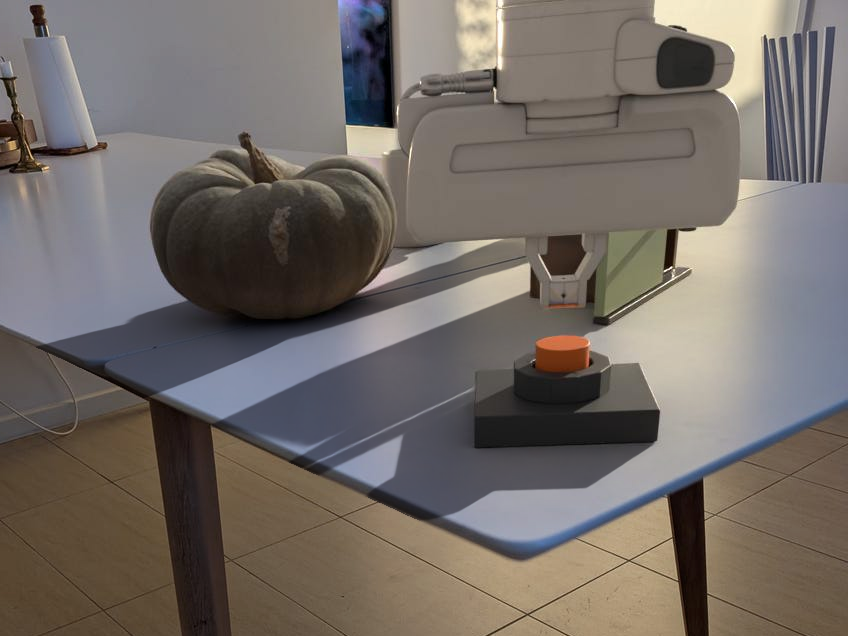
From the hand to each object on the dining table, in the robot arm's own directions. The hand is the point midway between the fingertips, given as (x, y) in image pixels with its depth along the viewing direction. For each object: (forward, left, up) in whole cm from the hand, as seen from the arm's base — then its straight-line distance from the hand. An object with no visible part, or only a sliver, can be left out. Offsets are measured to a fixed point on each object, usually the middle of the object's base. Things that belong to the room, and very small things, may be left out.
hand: (562, 306), depth 61 cm
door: (-10, -29, -7) cm, 31 cm away
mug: (+13, -69, -8) cm, 71 cm away
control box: (0, 0, -8) cm, 8 cm away
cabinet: (-6, -35, -8) cm, 37 cm away
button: (0, 0, -4) cm, 4 cm away
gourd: (+27, -38, -8) cm, 47 cm away
